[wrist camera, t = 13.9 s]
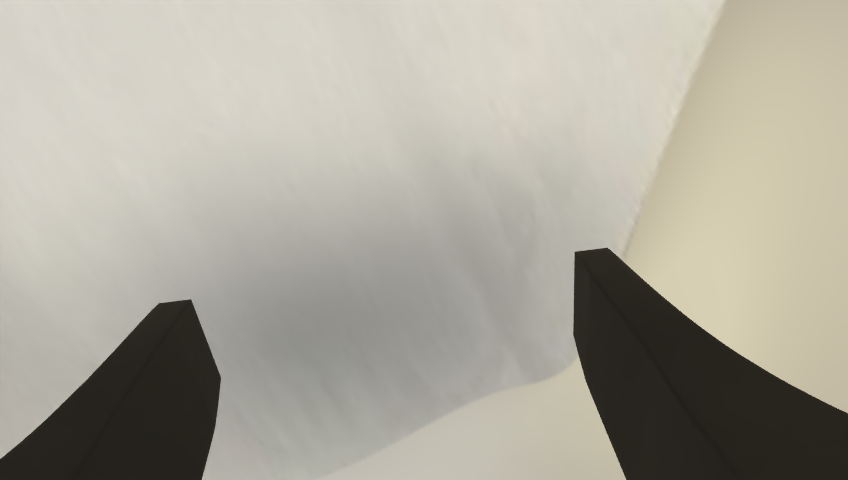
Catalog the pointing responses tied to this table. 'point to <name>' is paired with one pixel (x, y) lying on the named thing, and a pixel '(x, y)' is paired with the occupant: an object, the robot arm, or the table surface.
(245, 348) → the table surface
